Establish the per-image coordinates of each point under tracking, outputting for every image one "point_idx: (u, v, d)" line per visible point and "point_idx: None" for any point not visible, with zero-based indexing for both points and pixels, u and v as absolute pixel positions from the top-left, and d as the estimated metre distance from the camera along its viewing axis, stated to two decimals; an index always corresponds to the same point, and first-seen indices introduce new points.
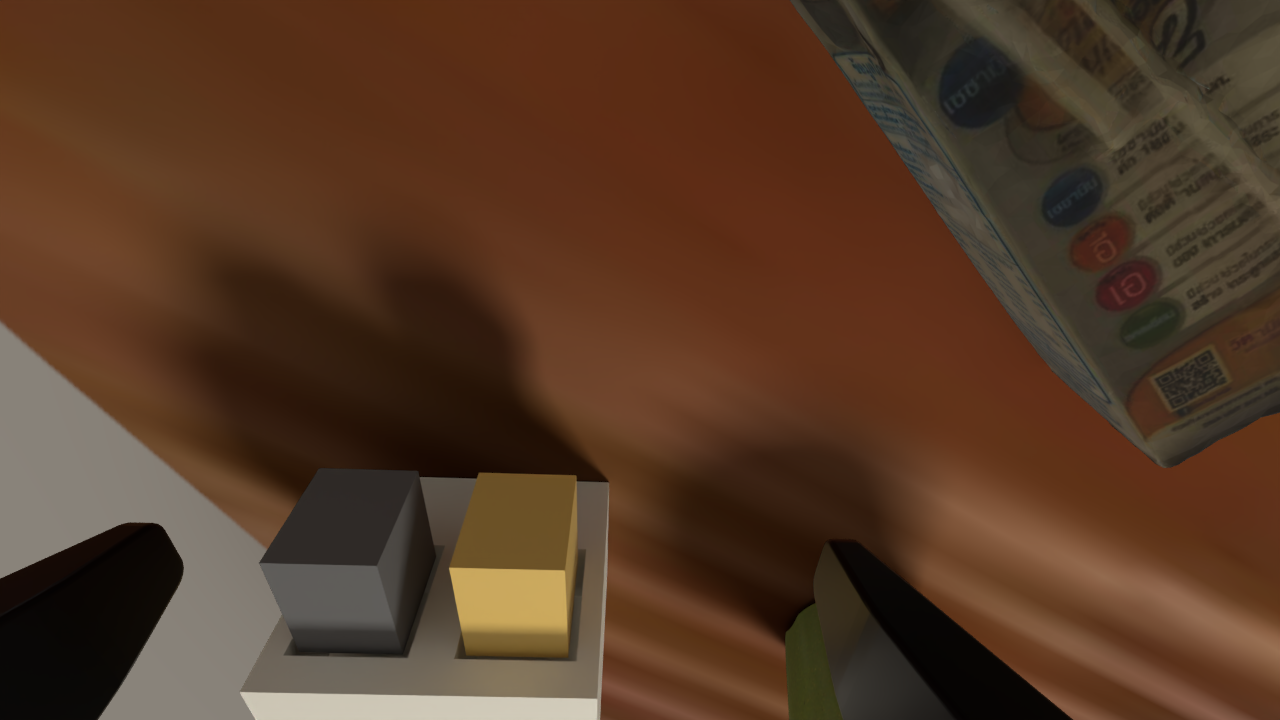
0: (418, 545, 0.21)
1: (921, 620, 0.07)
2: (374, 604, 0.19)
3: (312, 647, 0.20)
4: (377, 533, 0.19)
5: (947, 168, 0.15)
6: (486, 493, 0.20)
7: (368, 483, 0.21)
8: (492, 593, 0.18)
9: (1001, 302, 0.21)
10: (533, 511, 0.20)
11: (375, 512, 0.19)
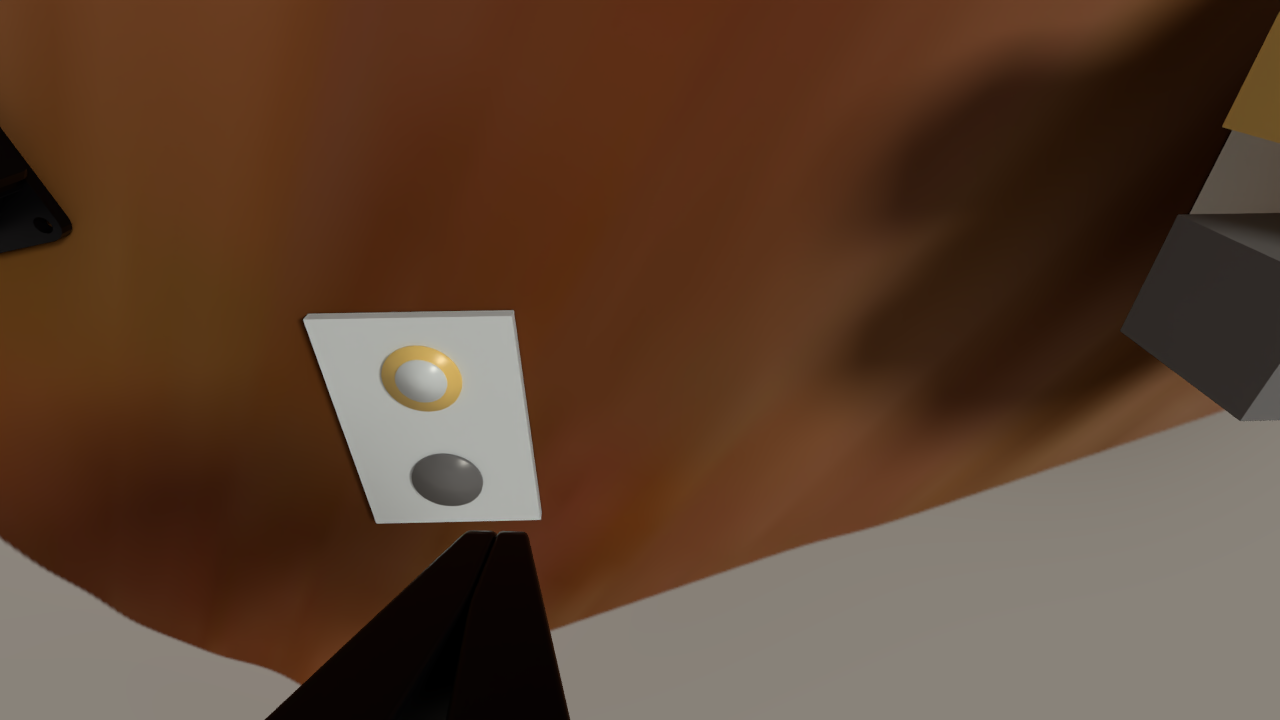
0: None
1: (508, 612, 0.06)
2: None
3: None
4: (1267, 278, 0.13)
5: None
6: (1270, 114, 0.13)
7: (1170, 279, 0.15)
8: None
9: None
10: None
11: (1225, 276, 0.14)
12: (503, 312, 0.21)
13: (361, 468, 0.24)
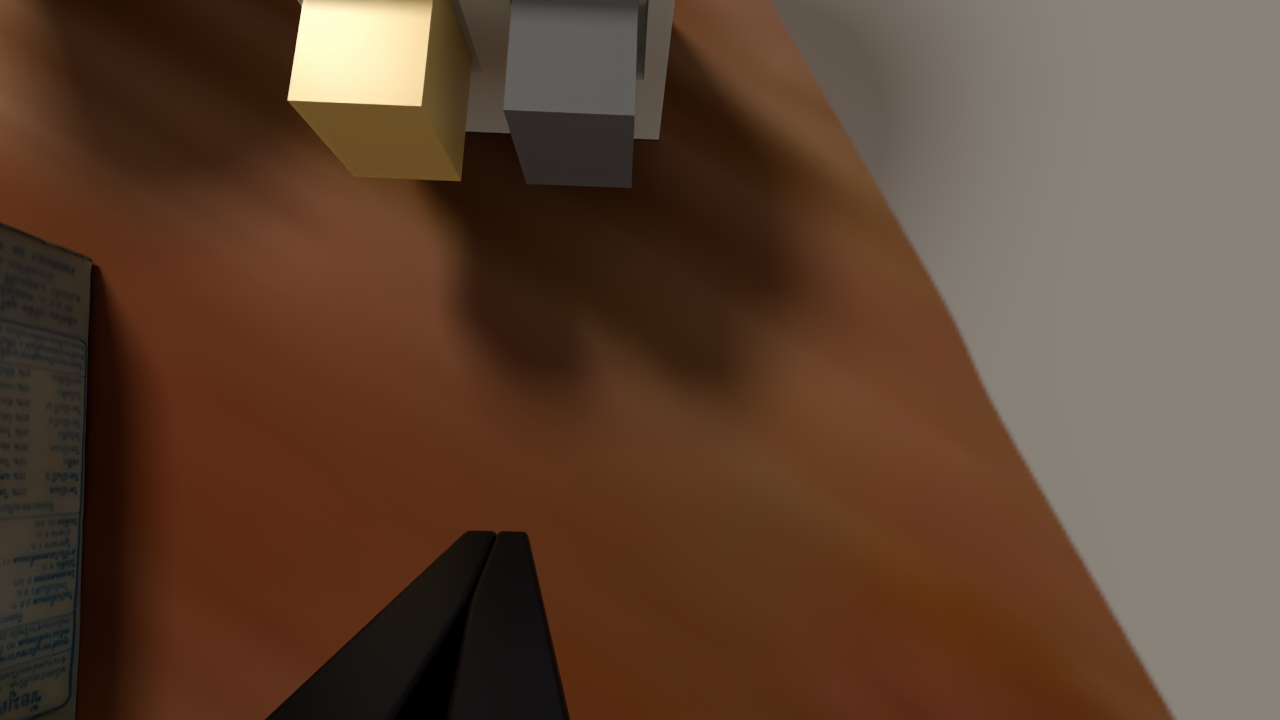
0: None
1: (508, 611, 0.06)
2: (524, 48, 0.16)
3: None
4: (526, 136, 0.17)
5: None
6: (437, 164, 0.19)
7: (570, 175, 0.19)
8: (380, 64, 0.16)
9: (78, 377, 0.21)
10: (371, 150, 0.18)
11: (543, 153, 0.18)
12: None
13: None
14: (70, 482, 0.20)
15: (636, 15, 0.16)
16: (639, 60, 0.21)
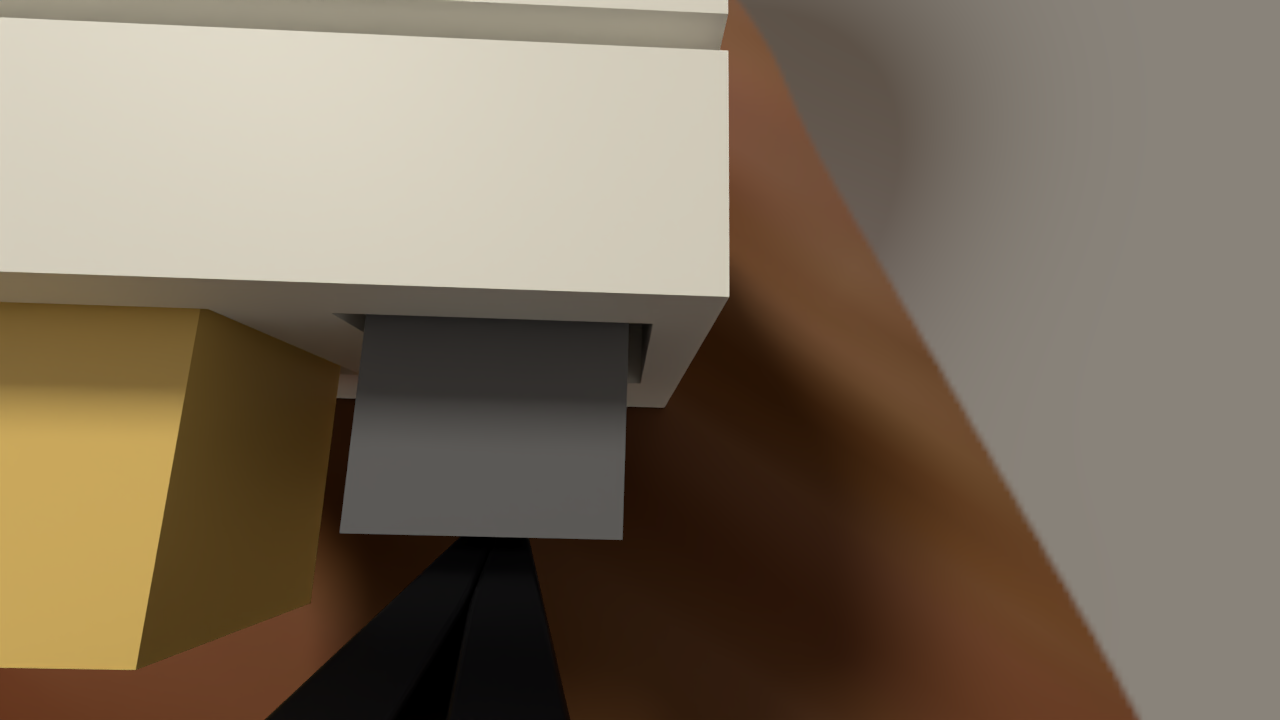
0: None
1: (508, 612, 0.06)
2: (392, 385, 0.08)
3: None
4: None
5: None
6: None
7: None
8: (52, 560, 0.07)
9: None
10: None
11: None
12: None
13: None
14: None
15: None
16: (632, 347, 0.12)
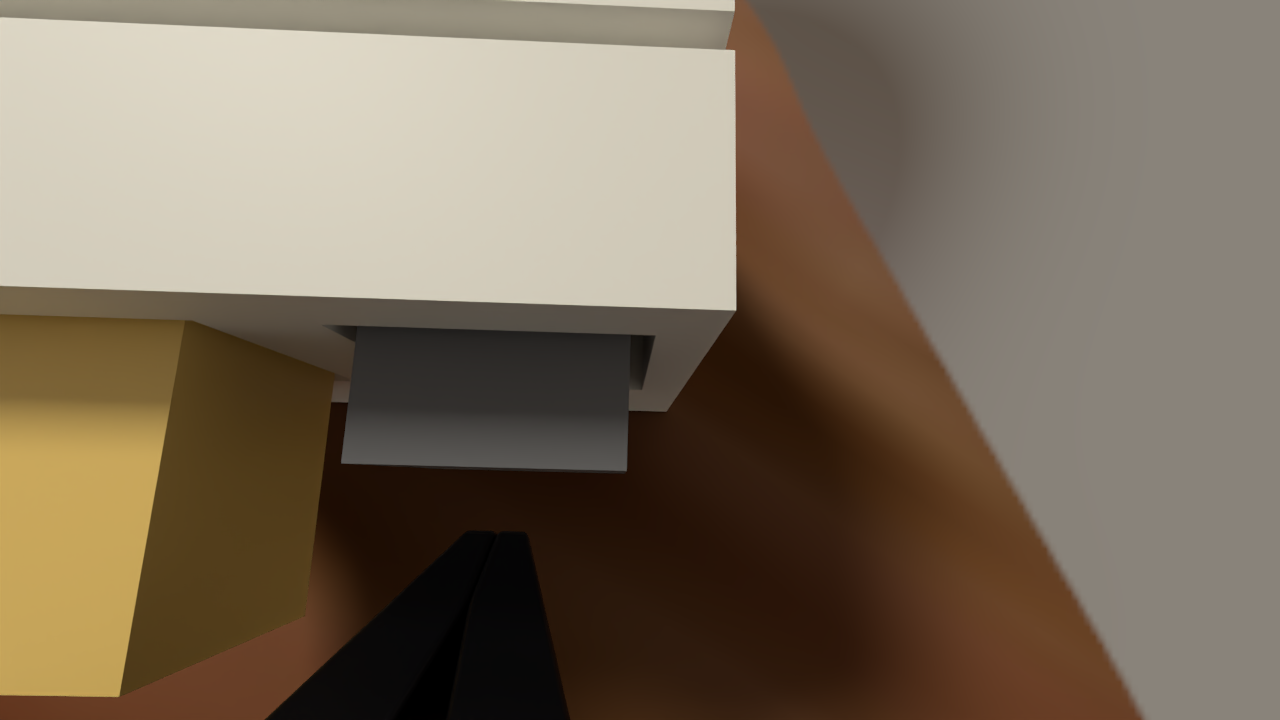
0: None
1: (508, 611, 0.06)
2: None
3: None
4: (410, 466, 0.08)
5: None
6: None
7: (512, 470, 0.11)
8: (31, 583, 0.07)
9: None
10: None
11: None
12: None
13: None
14: None
15: None
16: (633, 352, 0.12)
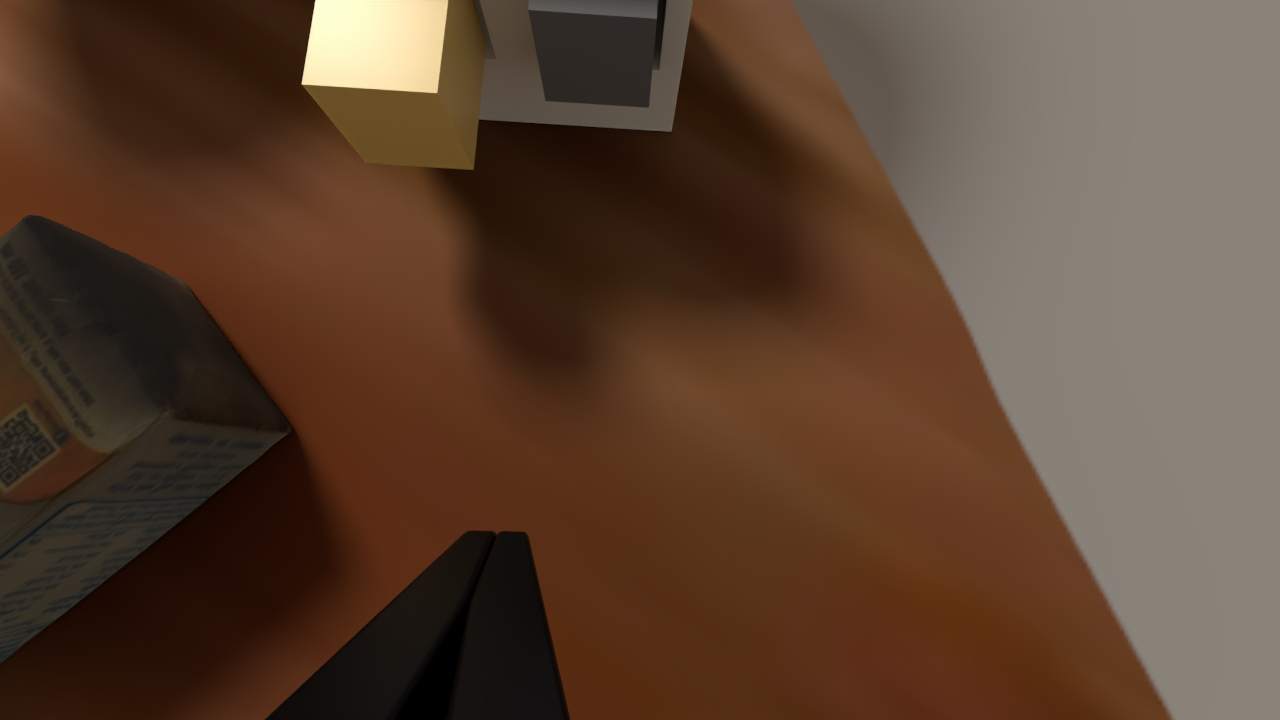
0: None
1: (508, 612, 0.06)
2: None
3: None
4: (548, 42, 0.17)
5: None
6: (450, 153, 0.18)
7: (589, 91, 0.19)
8: (395, 49, 0.16)
9: (171, 524, 0.20)
10: (384, 136, 0.18)
11: (564, 63, 0.18)
12: None
13: None
14: (71, 601, 0.20)
15: None
16: (654, 50, 0.21)
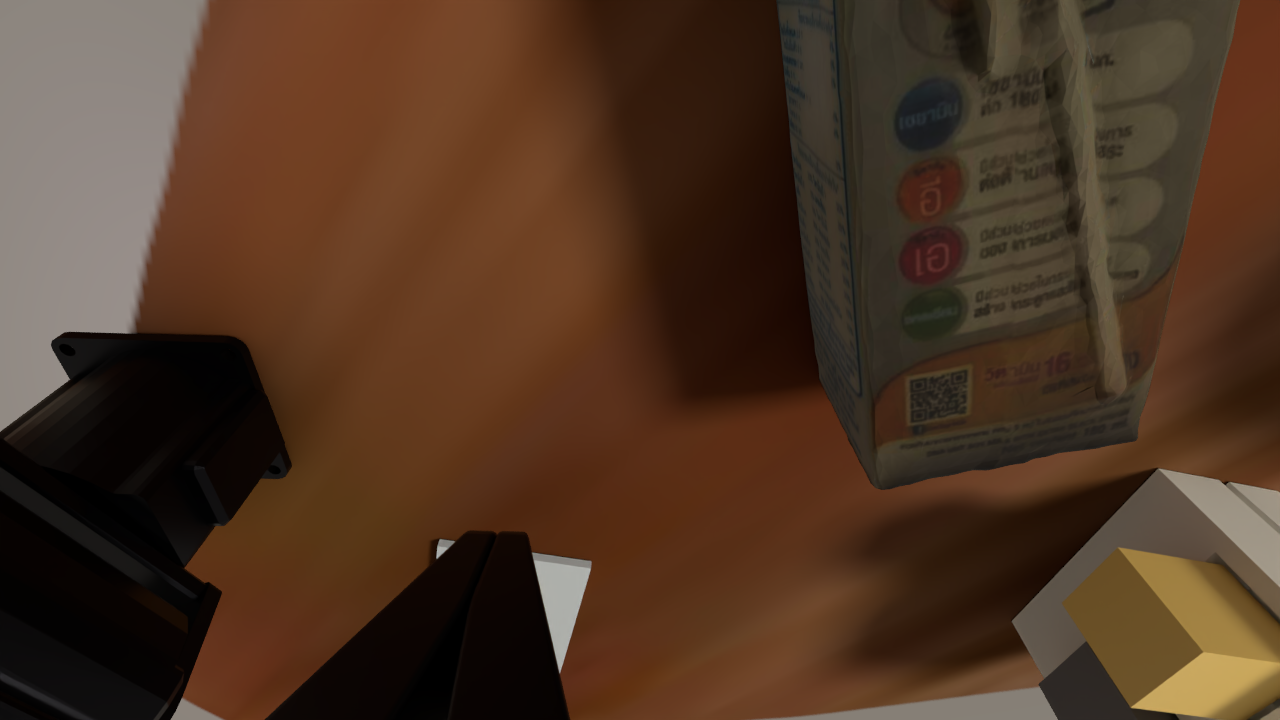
0: None
1: (508, 612, 0.06)
2: None
3: None
4: (1124, 715, 0.23)
5: (825, 23, 0.12)
6: (1084, 618, 0.23)
7: (1074, 676, 0.26)
8: (1184, 693, 0.20)
9: (806, 277, 0.20)
10: (1127, 609, 0.21)
11: (1103, 697, 0.24)
12: (584, 563, 0.28)
13: None
14: (795, 168, 0.18)
15: None
16: None
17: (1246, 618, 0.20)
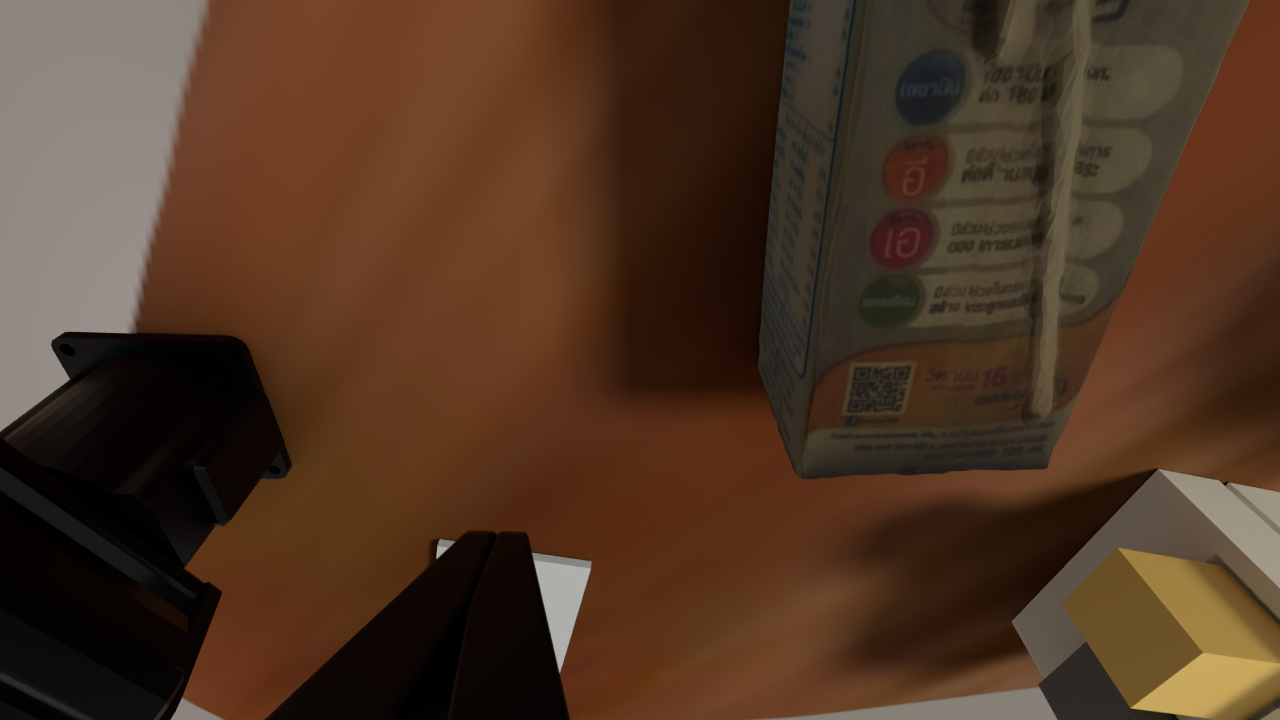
0: None
1: (509, 612, 0.06)
2: None
3: None
4: (1123, 716, 0.23)
5: None
6: (1084, 619, 0.23)
7: (1073, 676, 0.26)
8: (1184, 694, 0.20)
9: (766, 257, 0.19)
10: (1127, 610, 0.21)
11: (1103, 698, 0.24)
12: (584, 563, 0.28)
13: None
14: (778, 140, 0.17)
15: None
16: None
17: (1246, 619, 0.20)
